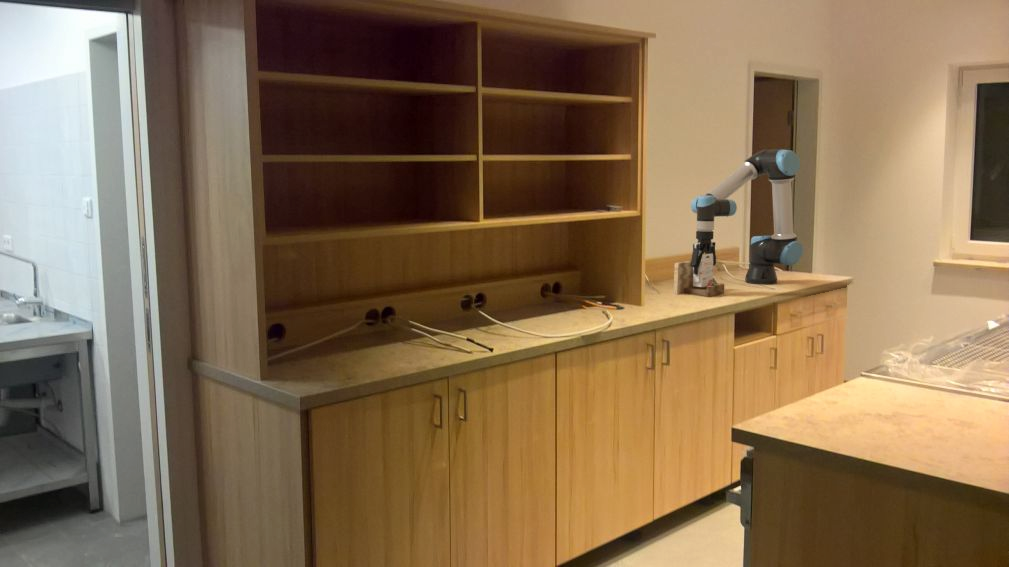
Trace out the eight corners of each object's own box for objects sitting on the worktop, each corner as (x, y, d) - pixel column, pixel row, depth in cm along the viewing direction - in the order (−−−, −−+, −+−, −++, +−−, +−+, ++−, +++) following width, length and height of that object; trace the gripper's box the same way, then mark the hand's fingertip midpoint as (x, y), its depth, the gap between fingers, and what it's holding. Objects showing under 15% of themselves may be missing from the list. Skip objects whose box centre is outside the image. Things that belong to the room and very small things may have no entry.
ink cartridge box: (703, 284, 385) (705, 252, 383) (712, 285, 381) (714, 253, 379) (692, 286, 379) (693, 253, 377) (701, 287, 376) (702, 254, 373)
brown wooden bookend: (702, 289, 394) (703, 259, 391) (730, 293, 383) (731, 262, 380) (673, 293, 379) (674, 262, 377) (701, 298, 368) (702, 266, 366)
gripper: (711, 228, 386) (709, 277, 390) (683, 231, 372) (681, 281, 376) (725, 229, 381) (723, 279, 384) (697, 232, 367) (695, 284, 370)
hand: (702, 280), depth 380 cm, fingers closed on ink cartridge box, 9 cm apart
